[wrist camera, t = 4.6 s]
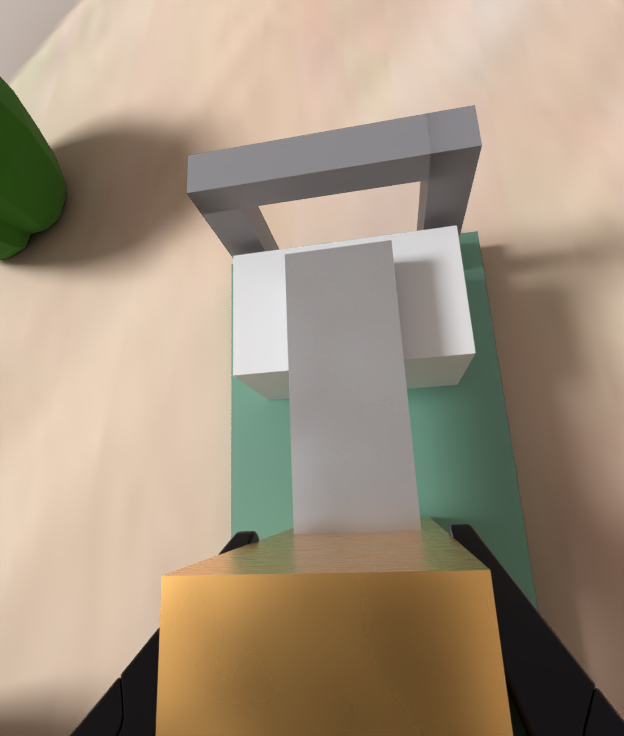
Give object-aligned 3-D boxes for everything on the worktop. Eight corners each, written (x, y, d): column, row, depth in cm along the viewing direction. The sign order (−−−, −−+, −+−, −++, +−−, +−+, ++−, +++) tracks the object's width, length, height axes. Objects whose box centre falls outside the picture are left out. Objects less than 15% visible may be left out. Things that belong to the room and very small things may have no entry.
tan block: (440, 617, 14) (536, 907, 4) (315, 616, 15) (150, 872, 5) (406, 307, 17) (419, 53, 7) (302, 318, 18) (180, 99, 8)
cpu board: (565, 847, 14) (780, 1305, 6) (243, 823, 15) (87, 1160, 8) (472, 246, 19) (523, 83, 11) (240, 276, 20) (148, 151, 13)
